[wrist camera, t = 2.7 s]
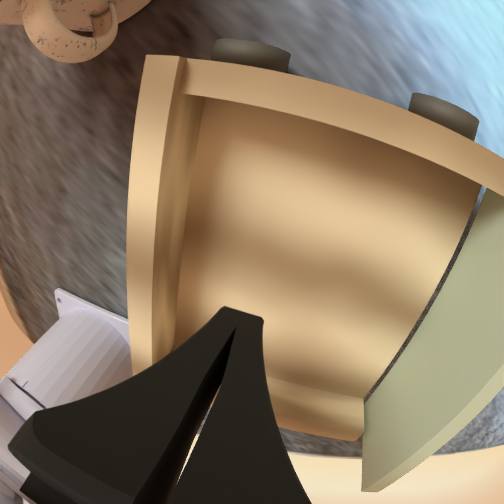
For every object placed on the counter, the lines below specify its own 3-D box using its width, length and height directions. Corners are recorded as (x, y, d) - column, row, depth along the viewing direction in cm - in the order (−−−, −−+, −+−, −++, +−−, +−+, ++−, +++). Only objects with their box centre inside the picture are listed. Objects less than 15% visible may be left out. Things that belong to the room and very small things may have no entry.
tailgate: (383, 410, 17) (387, 492, 11) (362, 406, 17) (361, 491, 11) (517, 182, 9) (604, 238, 4) (493, 168, 10) (583, 220, 4)
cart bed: (348, 395, 19) (346, 456, 15) (167, 343, 20) (135, 395, 16) (477, 128, 11) (538, 144, 6) (206, 46, 12) (153, 23, 7)
